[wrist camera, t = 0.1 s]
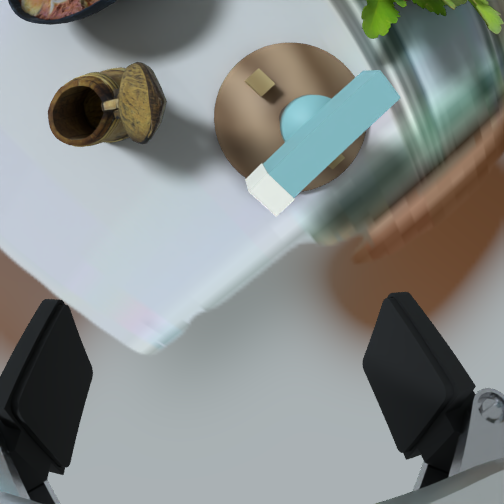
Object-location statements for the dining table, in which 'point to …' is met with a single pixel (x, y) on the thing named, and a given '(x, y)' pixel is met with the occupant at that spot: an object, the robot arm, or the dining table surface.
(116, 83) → the wooden mug
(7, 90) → the dining table surface
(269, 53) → the base plate
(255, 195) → the white-capped blue bar
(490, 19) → the potted flower
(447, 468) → the robot arm
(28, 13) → the bowl
